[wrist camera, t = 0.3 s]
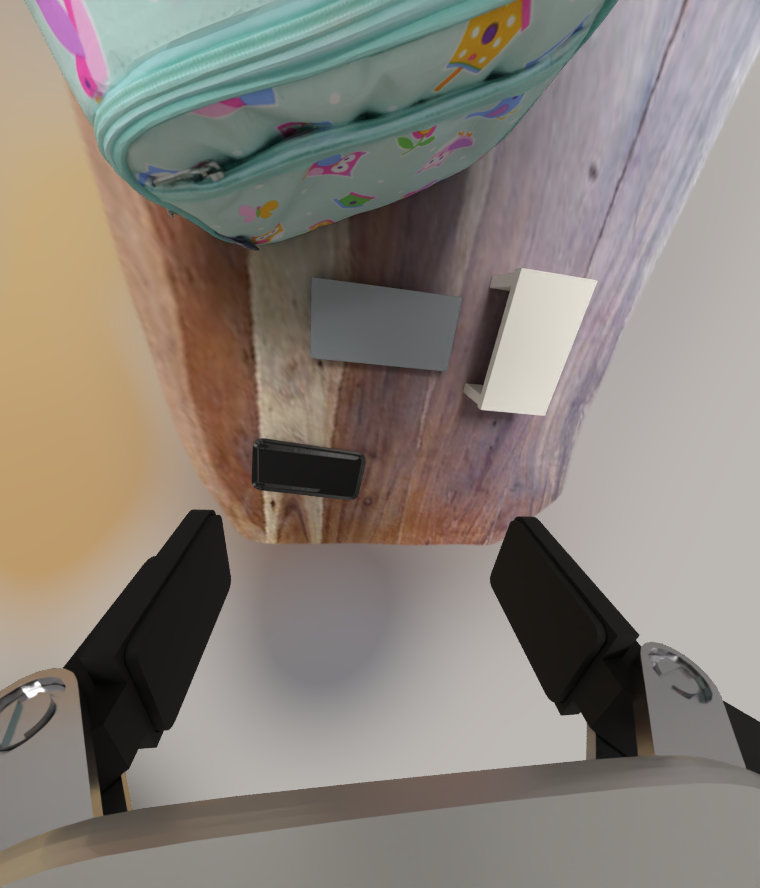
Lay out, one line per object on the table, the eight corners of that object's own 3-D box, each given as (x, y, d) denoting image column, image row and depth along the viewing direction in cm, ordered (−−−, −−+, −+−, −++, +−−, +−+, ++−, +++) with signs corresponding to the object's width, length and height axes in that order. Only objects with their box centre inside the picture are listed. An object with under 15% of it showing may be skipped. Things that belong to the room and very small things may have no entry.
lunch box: (236, 270, 30) (46, 225, 11) (173, 140, 26) (-332, -312, 7) (486, 172, 29) (758, -71, 10) (467, 15, 24) (920, -1049, 5)
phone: (253, 439, 38) (366, 456, 41) (255, 436, 39) (366, 452, 42) (251, 489, 41) (356, 501, 44) (253, 484, 42) (356, 497, 45)
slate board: (313, 278, 32) (311, 277, 30) (455, 297, 34) (462, 297, 32) (312, 354, 35) (310, 358, 33) (441, 367, 37) (446, 371, 35)
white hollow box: (493, 272, 33) (521, 267, 27) (558, 283, 34) (597, 280, 28) (462, 394, 39) (480, 409, 33) (518, 399, 40) (544, 415, 35)
